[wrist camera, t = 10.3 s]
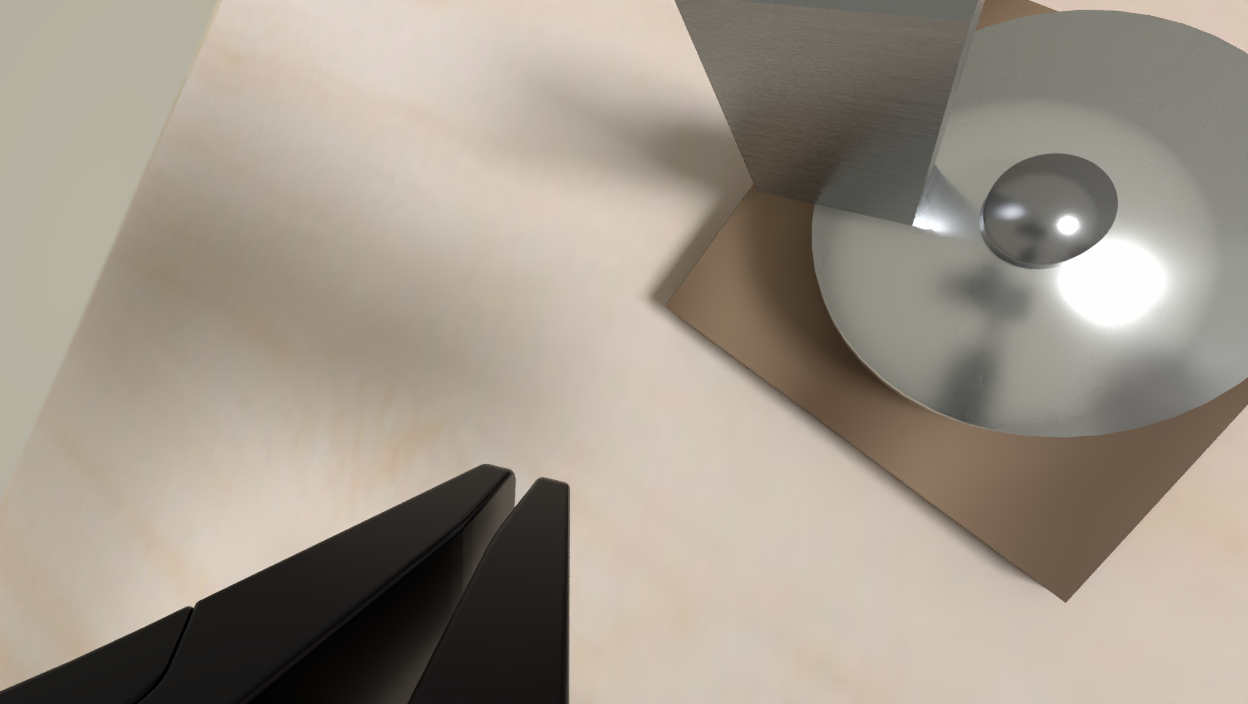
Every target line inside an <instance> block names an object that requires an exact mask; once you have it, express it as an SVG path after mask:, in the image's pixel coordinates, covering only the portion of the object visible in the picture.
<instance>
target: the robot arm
mask: <svg viewBox="0 0 1248 704" xmlns="http://www.w3.org/2000/svg"><path fill="white" fill-rule="evenodd" d="M515 486H516V478H515V474H514V472H513V471H512V470H510V469H507V468H503V467H499V466H494V465H490V464H483V465H480V466H478V467H475V468H473V469H471V470H469V471H467V472H465V473H463V474H461V475H459V476H457V477H455V478H453V479H451V480H449V481H446V482H444V483H442V484H440V485H438V486H436V487H434V488H432V489H430V490H428V491H426V492H424V493H422V494H420V495H417V496H415V497H413V498H411V499H409V500H407V501H405V502H403V503H401V504H399V505H397V506H395V507H393V508H391V509H388V510H386V511H384V512H382V513H380V514H378V515H376V516H374V517H372V518H370V519H368V520H366V521H364V522H361V523H359V524H357V525H355V526H353V527H351V528H349V529H347V530H345V531H343V532H341V533H339V534H337V535H335V536H332V537H330V538H328V539H326V540H324V541H322V542H320V543H318V544H316V545H314V546H312V547H310V548H308V549H306V550H303V551H301V552H299V553H297V554H295V555H293V556H291V557H289V558H287V559H285V560H283V561H281V562H279V563H277V564H274V565H272V566H270V567H268V568H266V569H264V570H262V571H260V572H258V573H256V574H254V575H252V576H250V577H248V578H245V579H243V580H241V581H239V582H237V583H235V584H233V585H231V586H229V587H227V588H225V589H223V590H221V591H218V592H216V593H214V594H212V595H210V596H208V597H206V598H204V599H202V600H200V601H198V602H197V603H196V605H195V606H194V608H193V607H190V606H187V607H185V608H183V609H181V610H179V611H176V612H174V613H172V614H170V615H168V616H166V617H164V618H162V619H160V620H158V621H156V622H154V623H152V624H150V625H147V626H145V627H143V628H141V629H139V630H137V631H135V632H132V633H130V634H128V635H126V636H124V637H122V638H120V639H117V640H115V641H113V642H111V643H109V644H107V645H104V646H102V647H100V648H98V649H96V650H94V651H91V652H89V653H87V654H85V655H83V656H81V657H79V658H76V659H74V660H72V661H70V662H68V663H65V664H63V665H61V666H58V667H56V668H54V669H51V670H49V671H47V672H44V673H42V674H40V675H37V676H35V677H33V678H30V679H28V680H26V681H23V682H21V683H19V684H16V685H14V686H12V687H9V688H7V689H5V690H2V691H0V704H569V578H570V487H569V485H568V484H567V483H565V482H562V481H557V480H553V479H549V478H545V477H542V478H539V479H537V480H536V481H535V482H534V484H533V485H532V486H531V488H530V489H529V490H528V491H527V493H526V494H525V495H524V496H523V498H522V499H521V500H520V502H519V503H518V504H517V505H516V507H515ZM514 507H515V508H514Z"/></svg>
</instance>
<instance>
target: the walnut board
mask: <svg viewBox="0 0 1248 704" xmlns="http://www.w3.org/2000/svg"><path fill="white" fill-rule="evenodd" d="M1049 12H1058V11H1056V10H1053V9H1050V8H1048V7H1045V6H1043V5H1040V4H1037V3H1035V2H1032V1H1029V0H985V2H984V5H983V8H982V11H981V15H980V18H979V21H978V24H977V28H976V31H977V30H979V29H982V28H984V27H988V26H991V25H995V24H998V23H1002V22H1005V21H1009V20H1012V19H1016V18H1021V17H1027V16H1032V15H1038V14H1043V13H1049ZM814 206H815V204H812V203H807V202H803V201H798V200H794V199H789V198H785V197H780V196H776V195H771V194H767V193H762V192H758V191H757V189H756V187H755V184H754V185H753V186H752V187H751V189H750V190H749V191H748V193H747V194H746V196H745V197H744V198H743V200H742V201H741V203H740V204H739V205H738V207H737V208H736V209H735V211H734V212H733V214H732V215H731V216H730V218H729V219H728V221H727V222H726V223H725V225H724V226H723V227H722V229H721V230H720V232H719V233H718V234H717V236H716V237H715V239H714V240H713V241H712V243H711V244H710V245H709V247H708V248H707V250H706V251H705V252H704V254H703V255H702V257H701V258H700V259H699V261H698V262H697V263H696V265H695V266H694V268H693V269H692V270H691V272H690V273H689V275H688V276H687V277H686V279H685V280H684V281H683V283H682V284H681V286H680V287H679V288H678V290H677V291H676V293H675V294H674V295H673V297H672V298H671V299H670V301H669V302H668V304H667V305H666V306H665V307H667V308H668V309H669V310H671V311H672V312H674V313H675V314H676V315H678V316H679V317H680V318H682V319H683V320H684V321H686V322H687V323H688V324H690V325H691V326H692V327H694V328H695V329H696V330H698V331H699V332H701V333H702V334H703V335H705V336H706V337H707V338H709V339H710V340H711V341H713V342H714V343H715V344H717V345H718V346H719V347H721V348H722V349H724V350H725V351H726V352H728V353H729V354H730V355H732V356H733V357H734V358H736V359H737V360H738V361H740V362H741V363H742V364H744V365H745V366H746V367H748V368H749V369H751V370H752V371H753V372H755V373H756V374H757V375H759V376H760V377H761V378H763V379H764V380H765V381H767V382H768V383H769V384H771V385H772V386H773V387H775V388H776V389H778V390H779V391H780V392H782V393H783V394H784V395H786V396H787V397H788V398H790V399H791V400H792V401H794V402H795V403H796V404H798V405H799V406H801V407H802V408H803V409H805V410H806V411H807V412H809V413H810V414H811V415H813V416H814V417H815V418H817V419H818V420H819V421H821V422H822V423H823V424H825V425H826V426H828V427H829V428H830V429H832V430H833V431H834V432H836V433H837V434H838V435H840V436H841V437H842V438H844V439H845V440H846V441H848V442H849V443H851V444H852V445H853V446H855V447H856V448H857V449H859V450H860V451H861V452H863V453H864V454H865V455H867V456H868V457H869V458H871V459H872V460H873V461H875V462H876V463H878V464H879V465H880V466H882V467H883V468H884V469H886V470H887V471H888V472H890V473H891V474H892V475H894V476H895V477H896V478H898V479H899V480H901V481H902V482H903V483H905V484H906V485H907V486H909V487H910V488H911V489H913V490H914V491H915V492H917V493H918V494H919V495H921V496H922V497H923V498H925V499H926V500H928V501H929V502H930V503H932V504H933V505H934V506H936V507H937V508H938V509H940V510H941V511H942V512H944V513H945V514H946V515H948V516H949V517H950V518H952V519H953V520H955V521H956V522H957V523H959V524H960V525H961V526H963V527H964V528H965V529H967V530H968V531H969V532H971V533H972V534H973V535H975V536H976V537H978V538H979V539H980V540H982V541H983V542H984V543H986V544H987V545H988V546H990V547H991V548H992V549H994V550H995V551H996V552H998V553H999V554H1000V555H1002V556H1003V557H1005V558H1006V559H1007V560H1009V561H1010V562H1011V563H1013V564H1014V565H1015V566H1017V567H1018V568H1019V569H1021V570H1022V571H1023V572H1025V573H1026V574H1028V575H1029V576H1030V577H1032V578H1033V579H1034V580H1036V581H1037V582H1038V583H1040V584H1041V585H1042V586H1044V587H1045V588H1046V589H1048V590H1049V591H1050V592H1052V593H1053V594H1055V595H1056V596H1057V597H1059V598H1060V599H1061V600H1063V601H1064V602H1065V603H1066V602H1067V601H1068V600H1069V599H1070V598H1071V597H1072V595H1073V594H1074V593H1075V592H1076V591H1077V590H1078V589H1079V588H1080V587H1081V586H1082V585H1083V583H1084V582H1085V581H1086V580H1087V579H1088V578H1089V577H1090V576H1091V575H1092V574H1093V573H1094V571H1095V570H1096V569H1097V568H1098V567H1099V566H1100V565H1101V564H1102V563H1103V562H1104V561H1105V559H1106V558H1107V557H1108V556H1109V555H1110V554H1111V553H1112V552H1113V551H1114V550H1115V549H1116V547H1117V546H1118V545H1119V544H1120V543H1121V542H1122V541H1123V540H1124V539H1125V538H1126V537H1127V535H1128V534H1129V533H1130V532H1131V531H1132V530H1133V529H1134V528H1135V527H1136V526H1137V525H1138V523H1139V522H1140V521H1141V520H1142V519H1143V518H1144V517H1145V516H1146V515H1147V514H1148V513H1149V512H1150V510H1151V509H1152V508H1153V507H1154V506H1155V505H1156V504H1157V503H1158V502H1159V501H1160V500H1161V498H1162V497H1163V496H1164V495H1165V494H1166V493H1167V492H1168V491H1169V490H1170V489H1171V488H1172V486H1173V485H1174V484H1175V483H1176V482H1177V481H1178V480H1179V479H1180V478H1181V477H1182V476H1183V474H1184V473H1185V472H1186V471H1187V470H1188V469H1189V468H1190V467H1191V466H1192V465H1193V464H1194V462H1195V461H1196V460H1197V459H1198V458H1199V457H1200V456H1201V455H1202V454H1203V453H1204V452H1205V450H1206V449H1207V448H1208V447H1209V446H1210V445H1211V444H1212V443H1213V442H1214V441H1215V440H1216V438H1217V437H1218V436H1219V435H1220V434H1221V433H1222V432H1223V431H1224V430H1225V429H1226V428H1227V427H1228V425H1229V424H1230V423H1231V422H1232V421H1233V420H1234V419H1235V418H1236V417H1237V416H1238V415H1239V413H1240V412H1241V411H1242V410H1243V409H1244V408H1245V407H1246V406H1247V405H1248V377H1247V378H1246V379H1245V380H1243V381H1242V382H1241V383H1239V384H1238V385H1236V386H1235V387H1233V388H1231V389H1229V390H1228V391H1226V392H1224V393H1223V394H1221V395H1219V396H1218V397H1216V398H1214V399H1213V400H1211V401H1209V402H1208V403H1205V404H1203V405H1201V406H1199V407H1196V408H1194V409H1192V410H1189V411H1187V412H1185V413H1182V414H1180V415H1178V416H1176V417H1173V418H1170V419H1167V420H1164V421H1160V422H1157V423H1154V424H1150V425H1147V426H1144V427H1140V428H1137V429H1132V430H1126V431H1120V432H1115V433H1109V434H1104V435H1095V436H1080V437H1065V438H1064V437H1040V436H1024V435H1014V434H1008V433H1001V432H995V431H988V430H983V429H979V428H976V427H972V426H968V425H965V424H961V423H957V422H954V421H952V420H949V419H947V418H944V417H942V416H939V415H937V414H934V413H932V412H929V411H927V410H925V409H923V408H922V407H920V406H918V405H916V404H914V403H912V402H911V401H909V400H907V399H905V398H903V397H902V396H900V395H899V394H898V393H896V392H895V391H893V390H892V389H891V388H889V387H888V386H886V385H885V384H884V383H882V382H881V381H880V380H879V379H878V378H877V377H876V376H875V375H873V374H872V373H871V372H870V371H869V370H868V369H867V368H866V367H865V366H864V365H863V364H862V363H861V362H860V361H859V360H858V358H857V357H856V356H855V355H854V354H853V352H852V351H851V350H850V349H849V348H848V346H847V345H846V343H845V342H844V340H843V339H842V337H841V335H840V334H839V332H838V331H837V329H836V327H835V326H834V324H833V322H832V319H831V317H830V315H829V313H828V311H827V308H826V306H825V304H824V301H823V297H822V294H821V290H820V287H819V283H818V280H817V276H816V272H815V266H814V259H813V252H812V219H813V212H814Z"/></svg>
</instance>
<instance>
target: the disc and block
mask: <svg viewBox="0 0 1248 704" xmlns="http://www.w3.org/2000/svg"><path fill="white" fill-rule="evenodd" d="M675 2H676V5H677V7H678V9H679V12H680V14H681V16H682V18H683V21H684V23H685V25H686V28H687V30H688V32H689V35H690V37H691V39H692V41H693V44H694V46H695V48H696V51H697V53H698V55H699V58H700V60H701V62H702V65H703V67H704V69H705V71H706V74H707V76H708V78H709V81H710V83H711V85H712V88H713V90H714V92H715V94H716V97H717V99H718V101H719V104H720V106H721V108H722V111H723V113H724V115H725V118H726V120H727V122H728V124H729V127H730V129H731V131H732V134H733V136H734V138H735V141H736V143H737V145H738V147H739V150H740V152H741V154H742V157H743V159H744V161H745V164H746V166H747V168H748V170H749V173H750V175H751V177H752V180H753V182H754V184H755V187H756V189H757V191H758V192H762V193H767V194H771V195H776V196H780V197H785V198H789V199H794V200H798V201H803V202H807V203H812V204H815V206H814V212H813V219H812V252H813V259H814V266H815V272H816V276H817V280H818V283H819V287H820V290H821V294H822V297H823V301H824V304H825V306H826V308H827V311H828V313H829V315H830V317H831V319H832V322H833V324H834V326H835V327H836V329H837V331H838V332H839V334H840V335H841V337H842V339H843V340H844V342H845V343H846V345H847V346H848V348H849V349H850V350H851V351H852V352H853V354H854V355H855V356H856V357H857V358H858V360H859V361H860V362H861V363H862V364H863V365H864V366H865V367H866V368H867V369H868V370H869V371H870V372H871V373H872V374H873V375H875V376H876V377H877V378H878V379H879V380H880V381H881V382H882V383H884V384H885V385H886V386H888V387H889V388H891V389H892V390H893V391H895V392H896V393H898V394H899V395H900V396H902V397H903V398H905V399H907V400H909V401H911V402H912V403H914V404H916V405H918V406H920V407H922V408H923V409H925V410H927V411H929V412H932V413H934V414H937V415H939V416H942V417H944V418H947V419H949V420H952V421H954V422H957V423H961V424H965V425H968V426H972V427H976V428H979V429H983V430H988V431H995V432H1001V433H1008V434H1014V435H1024V436H1040V437H1064V438H1065V437H1080V436H1095V435H1104V434H1109V433H1115V432H1120V431H1126V430H1132V429H1137V428H1140V427H1144V426H1147V425H1150V424H1154V423H1157V422H1160V421H1164V420H1167V419H1170V418H1173V417H1176V416H1178V415H1180V414H1182V413H1185V412H1187V411H1189V410H1192V409H1194V408H1196V407H1199V406H1201V405H1203V404H1205V403H1208V402H1209V401H1211V400H1213V399H1214V398H1216V397H1218V396H1219V395H1221V394H1223V393H1224V392H1226V391H1228V390H1229V389H1231V388H1233V387H1235V386H1236V385H1238V384H1239V383H1241V382H1242V381H1243V380H1245V379H1246V378H1247V377H1248V54H1247V53H1246V52H1244V51H1242V50H1240V49H1238V48H1237V47H1235V46H1233V45H1231V44H1229V43H1227V42H1225V41H1224V40H1222V39H1220V38H1218V37H1216V36H1214V35H1211V34H1209V33H1206V32H1203V31H1201V30H1198V29H1196V28H1193V27H1190V26H1188V25H1185V24H1182V23H1178V22H1174V21H1170V20H1166V19H1162V18H1158V17H1154V16H1150V15H1143V14H1136V13H1128V12H1121V11H1104V10H1075V11H1062V12H1049V13H1043V14H1038V15H1032V16H1027V17H1021V18H1016V19H1012V20H1009V21H1005V22H1002V23H998V24H995V25H991V26H988V27H984V28H982V29H979V30H977V31H976V28H977V24H978V21H979V18H980V15H981V11H982V8H983V5H984V2H985V0H675Z"/></svg>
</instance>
